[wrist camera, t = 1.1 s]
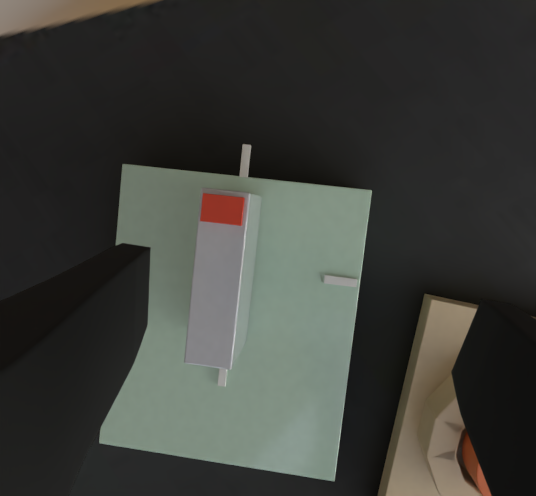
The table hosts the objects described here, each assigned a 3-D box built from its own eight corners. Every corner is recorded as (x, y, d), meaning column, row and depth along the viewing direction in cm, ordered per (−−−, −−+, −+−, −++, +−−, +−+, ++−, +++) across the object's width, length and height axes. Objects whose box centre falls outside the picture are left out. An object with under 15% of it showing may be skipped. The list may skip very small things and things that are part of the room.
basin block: (332, 449, 24) (334, 484, 21) (124, 416, 25) (97, 445, 22) (368, 164, 23) (376, 157, 20) (148, 142, 24) (123, 132, 21)
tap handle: (246, 342, 21) (230, 373, 17) (206, 337, 22) (181, 365, 18) (262, 195, 21) (249, 192, 17) (221, 191, 21) (199, 186, 17)
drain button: (538, 500, 21) (561, 530, 19) (452, 479, 21) (466, 507, 19) (559, 420, 20) (585, 442, 18) (472, 400, 20) (488, 420, 19)
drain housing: (536, 543, 24) (574, 600, 20) (375, 503, 24) (385, 551, 21) (594, 329, 23) (644, 350, 19) (424, 293, 23) (442, 307, 20)
